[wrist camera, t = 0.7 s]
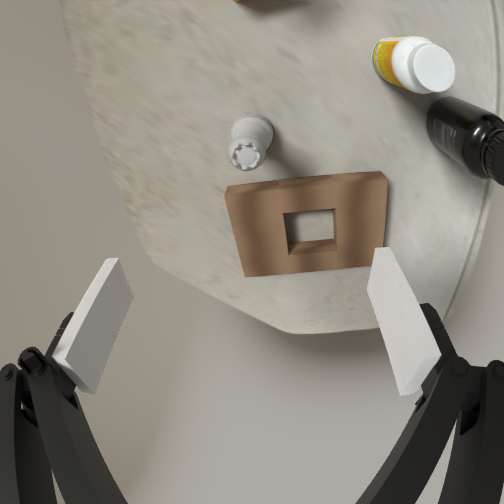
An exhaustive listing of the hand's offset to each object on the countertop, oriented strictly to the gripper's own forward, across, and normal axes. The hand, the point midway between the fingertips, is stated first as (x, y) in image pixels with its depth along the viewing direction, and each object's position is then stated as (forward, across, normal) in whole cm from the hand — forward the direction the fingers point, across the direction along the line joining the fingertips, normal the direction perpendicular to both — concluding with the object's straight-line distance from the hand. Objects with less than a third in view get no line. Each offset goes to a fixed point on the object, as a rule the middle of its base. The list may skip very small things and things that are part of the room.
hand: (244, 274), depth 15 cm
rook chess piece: (+21, 0, +2) cm, 21 cm away
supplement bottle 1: (+20, +15, +11) cm, 27 cm away
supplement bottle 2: (+20, +23, +5) cm, 30 cm away
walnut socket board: (+21, +6, -9) cm, 23 cm away
